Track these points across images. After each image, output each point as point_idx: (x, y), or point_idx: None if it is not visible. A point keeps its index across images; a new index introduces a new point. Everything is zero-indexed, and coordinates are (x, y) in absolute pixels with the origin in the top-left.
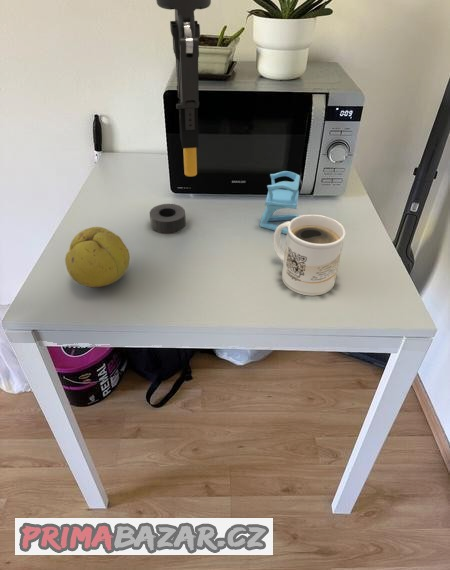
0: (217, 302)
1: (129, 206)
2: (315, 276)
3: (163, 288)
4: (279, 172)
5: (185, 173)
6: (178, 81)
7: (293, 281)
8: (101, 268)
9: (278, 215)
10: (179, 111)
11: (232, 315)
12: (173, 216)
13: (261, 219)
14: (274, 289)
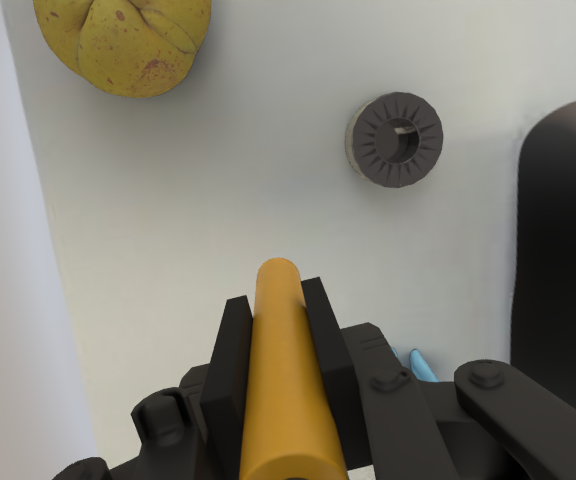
0: (122, 286)
1: (473, 15)
2: None
3: (145, 177)
4: None
5: (262, 265)
6: (376, 474)
7: None
8: (49, 46)
9: None
10: (316, 343)
11: (92, 315)
12: (377, 160)
13: (414, 350)
14: (178, 380)
